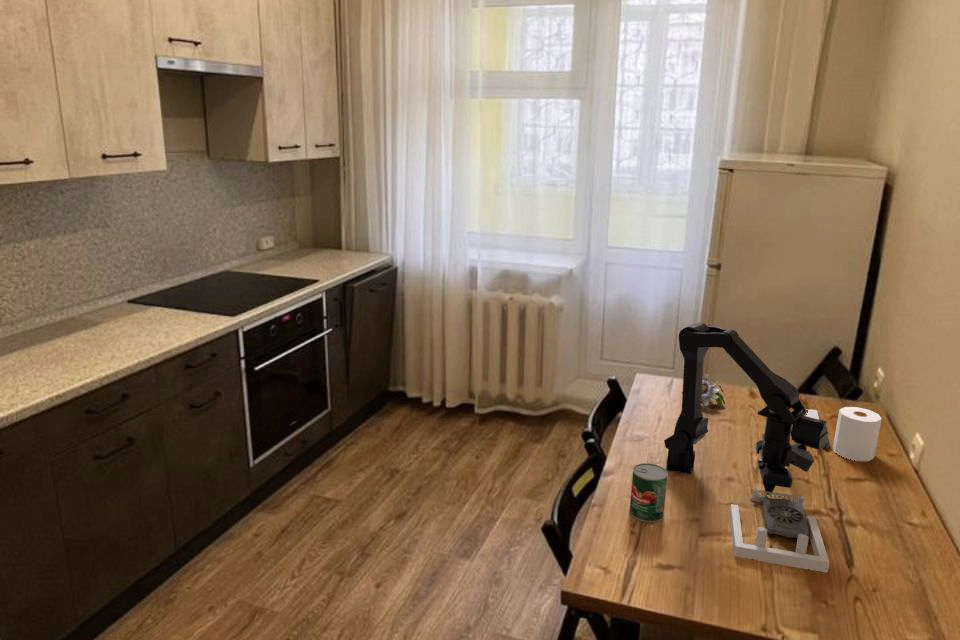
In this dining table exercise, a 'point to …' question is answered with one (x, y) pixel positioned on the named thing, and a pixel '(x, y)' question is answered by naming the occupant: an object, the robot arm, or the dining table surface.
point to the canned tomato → (648, 492)
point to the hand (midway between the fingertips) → (768, 494)
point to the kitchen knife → (815, 415)
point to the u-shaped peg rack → (781, 556)
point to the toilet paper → (856, 433)
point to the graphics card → (783, 514)
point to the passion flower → (710, 391)
